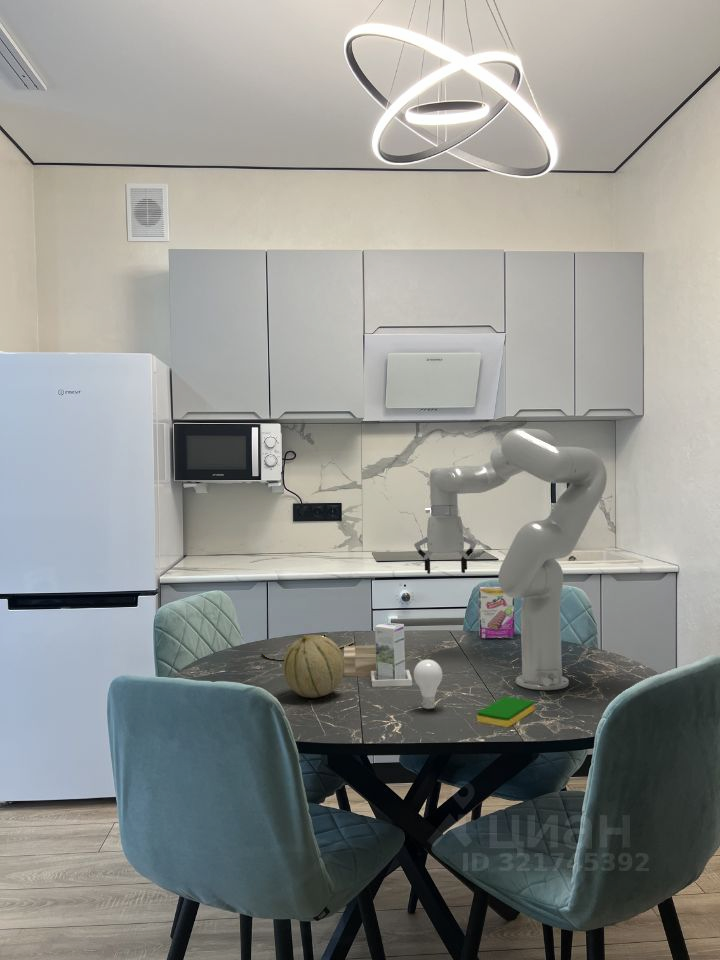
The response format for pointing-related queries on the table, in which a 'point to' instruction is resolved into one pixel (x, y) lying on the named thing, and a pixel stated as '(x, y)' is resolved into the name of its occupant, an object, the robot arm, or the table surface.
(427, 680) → the lightbulb
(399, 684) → the stand frame
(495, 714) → the dish sponge
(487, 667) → the table surface
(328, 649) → the cantaloupe
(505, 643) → the table surface
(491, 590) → the candy bar box
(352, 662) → the block
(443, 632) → the table surface
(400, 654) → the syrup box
